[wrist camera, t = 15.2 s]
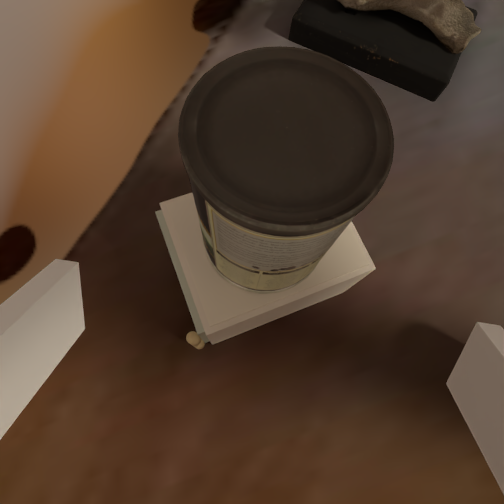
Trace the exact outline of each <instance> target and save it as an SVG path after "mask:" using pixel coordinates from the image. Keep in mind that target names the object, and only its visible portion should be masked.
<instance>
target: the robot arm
mask: <svg viewBox="0 0 504 504" xmlns="http://www.w3.org/2000/svg"><path fill="white" fill-rule="evenodd" d="M84 329H85V323H84V313H83V303H82V292H81V282H80V272H79V262H73V261H67V260H60V259H55V260H54V261H52V262H51V263H50V264H49V265H48V266H46V267H45V268H44V269H43V270H42V271H40V272H39V273H38V274H37V275H36V276H34V277H33V278H32V279H31V280H30V281H28V282H27V283H26V284H25V285H24V286H22V287H21V288H20V289H19V290H18V291H16V292H15V293H14V294H13V295H12V296H10V297H9V298H8V299H7V300H6V301H4V302H3V303H2V304H1V305H0V439H1V438H2V437H3V435H4V434H5V433H6V431H7V430H8V429H9V428H10V426H11V425H12V424H13V422H14V421H15V420H16V418H17V417H18V416H19V414H20V413H21V412H22V411H23V409H24V408H25V407H26V405H27V404H28V403H29V401H30V400H31V399H32V397H33V396H34V395H35V394H36V392H37V391H38V390H39V388H40V387H41V386H42V384H43V383H44V382H45V380H46V379H47V378H48V377H49V375H50V374H51V373H52V371H53V370H54V369H55V367H56V366H57V365H58V363H59V362H60V361H61V360H62V358H63V357H64V356H65V354H66V353H67V352H68V350H69V349H70V348H71V346H72V345H73V344H74V343H75V341H76V340H77V339H78V337H79V336H80V335H81V333H82V332H83V331H84ZM446 385H447V387H448V388H449V390H450V392H451V394H452V396H453V398H454V400H455V402H456V404H457V406H458V408H459V410H460V412H461V413H462V415H463V417H464V419H465V421H466V423H467V425H468V427H469V429H470V431H471V433H472V435H473V437H474V439H475V440H476V442H477V444H478V446H479V448H480V450H481V452H482V454H483V456H484V458H485V460H486V462H487V464H488V465H489V467H490V469H491V471H492V473H493V475H494V477H495V479H496V481H497V483H498V485H499V487H500V489H501V490H502V492H503V494H504V329H503V328H502V327H501V326H500V325H494V324H487V323H480V322H477V323H476V325H475V327H474V329H473V331H472V333H471V335H470V337H469V339H468V341H467V343H466V345H465V347H464V349H463V351H462V353H461V355H460V357H459V359H458V361H457V362H456V364H455V366H454V368H453V370H452V372H451V374H450V376H449V378H448V380H447V382H446Z"/></svg>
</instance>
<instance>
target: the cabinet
mask: <svg viewBox="0 0 504 504" xmlns="http://www.w3.org/2000/svg"><path fill="white" fill-rule="evenodd" d="M159 204H160V207H161V210H159V211H156V212H155V213H156V216H157V219H158V222H159V225H160V228H161V230H162V233H163V236H164V239H165V242H166V245H167V248H168V251H169V253H170V256H171V259H172V262H173V265H174V268H175V271H176V274H177V276H178V279H179V282H180V285H181V288H182V291H183V294H184V297H185V299H186V302H187V305H188V308H189V311H190V314H191V317H192V320H193V322H194V325H195V328H196V331H197V332H195V331H191V332H189V333H188V334H187V336H186V340H187V342H188V343H190V344H191V345H192V346H194V347H195V348H196V349H203V348H204V346H205V343H206V342H209V341H210V342H211V344H212V345H214V344H216V343H219V342H221V341H224V340H226V339H229V338H231V337H234V336H236V335H239V334H241V333H244V332H246V331H249V330H251V329H254V328H256V327H259V326H261V325H264V324H266V323H269V322H271V321H274V320H276V319H279V318H281V317H284V316H286V315H289V314H291V313H294V312H296V311H299V310H301V309H304V308H306V307H309V306H311V305H314V304H316V303H319V302H321V301H324V300H326V299H329V298H331V297H334V296H336V295H339V294H341V293H343V292H345V291H346V290H347V289H349V288H350V287H352V286H353V285H354V284H356V283H357V282H358V281H360V280H361V279H363V278H364V277H365V276H367V275H368V274H369V273H371V272H372V271H373V270H375V269H376V268H375V266H374V264H373V262H372V260H371V258H370V256H369V254H368V252H367V250H366V248H365V246H364V244H363V242H362V240H361V238H360V236H359V235H358V233H357V231H356V229H355V227H354V225H353V223H352V221H351V222H350V223H349V225H348V226H347V227H346V228H345V230H344V231H343V232H342V233H341V235H340V236H339V237H338V239H337V240H336V241H335V242H334V244H333V245H332V246H331V247H330V249H329V250H328V251H327V252H326V254H325V255H324V256H323V257H322V259H321V260H320V261H319V263H318V265H317V266H316V268H315V269H314V271H313V272H312V273H311V274H310V275H309V276H308V278H306V279H305V280H303V281H302V282H301V283H299V284H298V285H296V286H294V287H292V288H290V289H288V290H285V291H281V292H277V293H267V294H260V293H254V292H249V291H246V290H243V289H240V288H238V287H236V286H234V285H232V284H231V283H229V282H228V281H226V280H225V279H224V278H223V277H221V276H220V275H219V274H218V273H217V272H216V270H215V269H214V267H213V266H212V264H211V263H210V261H209V259H208V257H207V255H206V252H205V248H204V245H203V236H202V232H201V227H200V222H199V218H198V214H197V209H196V205H195V201H194V196H193V193H189V194H186V195H183V196H179V197H176V198H173V199H170V200H167V201H164V202H161V203H159Z"/></svg>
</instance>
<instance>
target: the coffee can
mask: <svg viewBox="0 0 504 504" xmlns="http://www.w3.org/2000/svg"><path fill="white" fill-rule="evenodd" d="M178 137H179V146H180V152H181V156H182V160H183V163H184V166H185V169H186V171H187V174H188V176H189V179H190V184H191V188H192V193H193V196H194V201H195V205H196V209H197V214H198V218H199V222H200V227H201V232H202V236H203V245H204V248H205V252H206V255H207V257H208V259H209V261H210V263H211V264H212V266H213V267H214V269H215V270H216V272H217V273H218V274H219V275H220V276H221V277H223V278H224V279H225V280H226V281H228V282H229V283H231V284H232V285H234V286H236V287H238V288H240V289H243V290H246V291H249V292H254V293H260V294H267V293H277V292H281V291H285V290H288V289H290V288H292V287H294V286H296V285H298V284H299V283H301V282H302V281H303V280H305V279H306V278H308V276H309V275H310V274H311V273H312V272H313V271H314V269H315V268H316V266H317V265H318V263H319V261H320V260H321V259H322V257H323V256H324V255H325V254H326V252H327V251H328V250H329V249H330V247H331V246H332V245H333V244H334V242H335V241H336V240H337V239H338V237H339V236H340V235H341V233H342V232H343V231H344V230H345V228H346V227H347V226H348V225H349V223H350V222H351V221H352V220H353V218H354V217H355V216H356V215H357V214H358V213H359V212H360V211H362V210H363V209H364V208H365V207H366V206H367V205H368V204H369V203H370V202H371V201H372V199H373V198H374V197H375V196H376V195H377V193H378V192H379V190H380V189H381V187H382V186H383V184H384V182H385V180H386V178H387V176H388V174H389V171H390V168H391V164H392V160H393V150H394V138H393V131H392V126H391V123H390V119H389V116H388V113H387V111H386V108H385V106H384V105H383V103H382V101H381V99H380V98H379V96H378V95H377V93H376V92H375V91H374V89H373V88H372V87H371V86H370V85H369V84H368V83H367V82H366V81H365V80H364V79H363V78H362V77H361V76H360V75H358V74H357V73H356V72H355V71H353V70H352V69H350V68H349V67H348V66H346V65H344V64H343V63H341V62H339V61H337V60H336V59H334V58H332V57H330V56H327V55H324V54H322V53H319V52H315V51H310V50H308V49H301V48H295V47H263V48H257V49H252V50H248V51H245V52H242V53H239V54H236V55H234V56H232V57H229V58H227V59H226V60H224V61H222V62H221V63H219V64H217V65H216V66H214V67H213V68H212V69H211V70H210V71H208V72H207V73H205V74H204V75H203V76H202V77H201V79H200V80H199V81H198V82H197V83H196V85H195V86H194V87H193V88H192V90H191V92H190V93H189V95H188V97H187V99H186V101H185V104H184V106H183V109H182V112H181V115H180V120H179V132H178Z"/></svg>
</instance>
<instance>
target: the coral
mask: <svg viewBox="0 0 504 504" xmlns="http://www.w3.org/2000/svg"><path fill="white" fill-rule="evenodd" d="M476 16H477V11H476V10H474V9H471V8H469V7H466V6H465V4H464V3H463V2H462V0H304V1H303V3H302V4H301V6H300V7H299V9H298V11H297V12H296V13H295V15H294V17H293V19H292V23H291V29H290V34H289V40H290V41H292V42H295V43H297V44H299V45H302V46H305V47H307V48H309V49H311V50H313V51H316V52H319V53H322V54H324V55H327V56H330V57H332V58H334V59H336V60H337V61H339V62H342V63H344V64H347V65H349V66H351V67H354V68H356V69H359V70H361V71H363V72H366V73H368V74H370V75H373V76H375V77H377V78H380V79H382V80H384V81H387V82H389V83H391V84H394V85H396V86H398V87H401V88H403V89H405V90H408V91H410V92H413V93H415V94H417V95H419V96H422V97H424V98H426V99H429V100H431V101H435V100H436V99H437V98H438V97H439V95H440V94H441V93H442V91H443V90H444V89H445V88H446V87H447V85H448V84H449V81H450V79H451V77H452V74H453V72H454V69H455V67H456V65H457V62H458V60H459V57H460V55H461V52H462V51H463V50H464V49H465V48H466V46H467V44H468V43H469V41H470V40H471V39H473V38H474V37H475V36H476V35H478V34H479V33H480V32H481V29H480V28H479V27H477V26H476V25H475V23H474V21H475V18H476Z"/></svg>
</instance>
